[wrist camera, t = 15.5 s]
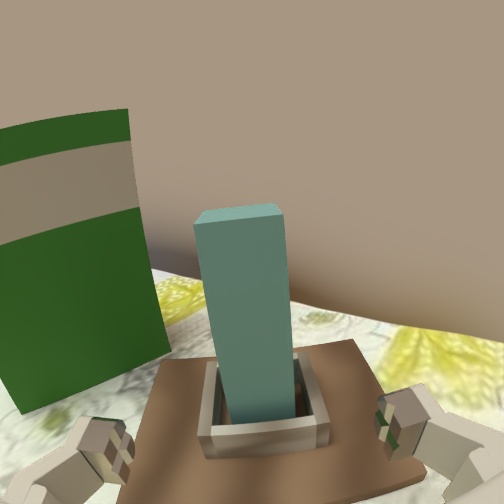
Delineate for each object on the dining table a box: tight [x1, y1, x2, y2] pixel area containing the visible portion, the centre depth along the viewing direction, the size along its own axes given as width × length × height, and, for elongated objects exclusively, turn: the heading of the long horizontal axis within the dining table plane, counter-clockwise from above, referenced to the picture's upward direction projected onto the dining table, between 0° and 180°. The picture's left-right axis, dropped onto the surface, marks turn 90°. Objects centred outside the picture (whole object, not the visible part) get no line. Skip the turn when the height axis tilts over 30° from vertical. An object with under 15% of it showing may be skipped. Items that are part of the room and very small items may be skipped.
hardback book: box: [0, 109, 171, 415], centre depth 24 cm, size 18×7×24 cm, turn 133°
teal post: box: [193, 203, 296, 425], centre depth 18 cm, size 4×4×14 cm
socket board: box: [116, 339, 427, 504], centre depth 19 cm, size 18×16×4 cm
